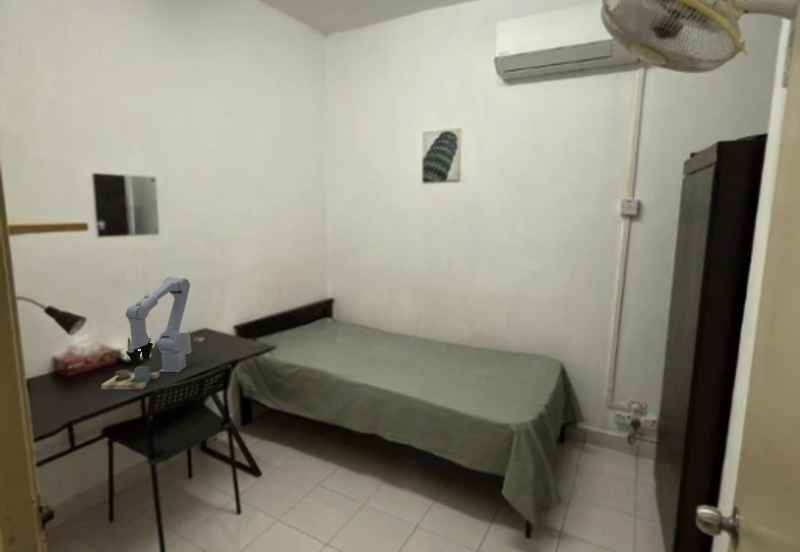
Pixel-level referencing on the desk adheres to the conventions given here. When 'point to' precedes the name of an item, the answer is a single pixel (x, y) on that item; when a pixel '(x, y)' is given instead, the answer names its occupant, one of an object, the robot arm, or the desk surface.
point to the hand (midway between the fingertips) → (141, 362)
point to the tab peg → (142, 374)
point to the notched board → (126, 380)
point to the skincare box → (186, 342)
